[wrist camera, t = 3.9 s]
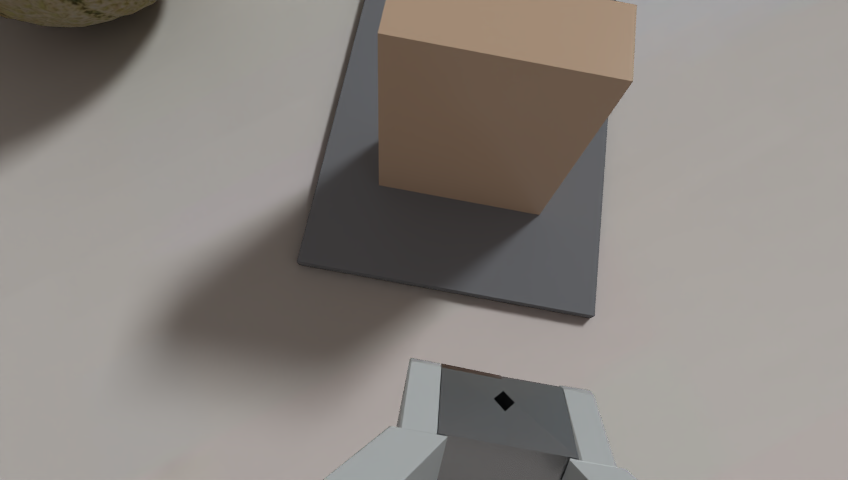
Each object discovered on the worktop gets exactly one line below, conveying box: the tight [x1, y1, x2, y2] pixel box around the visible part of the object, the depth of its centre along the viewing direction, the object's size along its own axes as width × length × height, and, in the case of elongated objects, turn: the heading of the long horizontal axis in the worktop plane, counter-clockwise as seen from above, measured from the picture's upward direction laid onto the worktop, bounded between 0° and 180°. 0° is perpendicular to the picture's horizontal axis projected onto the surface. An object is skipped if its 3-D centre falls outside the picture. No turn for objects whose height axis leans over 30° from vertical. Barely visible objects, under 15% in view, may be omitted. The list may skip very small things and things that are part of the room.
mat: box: [297, 0, 616, 318], centre depth 30 cm, size 20×14×1 cm
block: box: [378, 0, 637, 215], centre depth 23 cm, size 3×8×11 cm, turn 81°
